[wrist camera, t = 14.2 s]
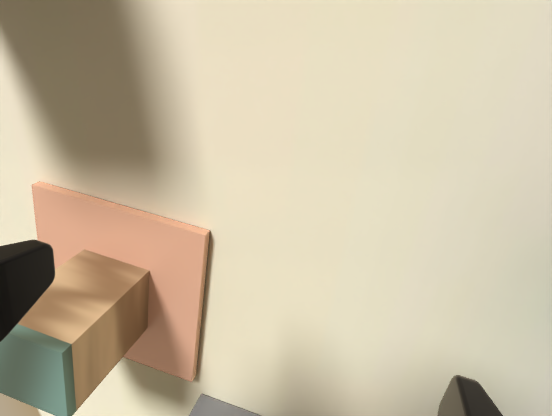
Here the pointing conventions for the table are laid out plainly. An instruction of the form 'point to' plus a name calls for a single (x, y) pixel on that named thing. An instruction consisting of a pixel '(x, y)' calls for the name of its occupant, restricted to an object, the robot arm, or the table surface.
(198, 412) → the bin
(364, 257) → the table surface
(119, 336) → the oak block
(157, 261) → the tile
